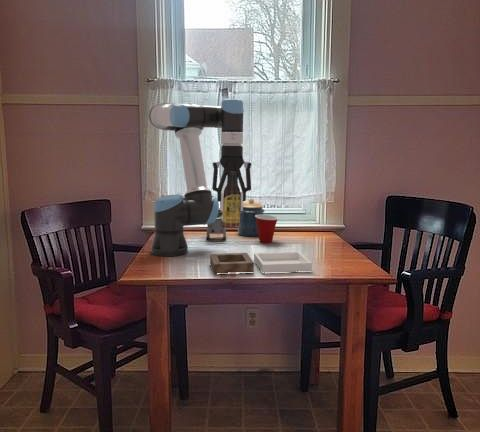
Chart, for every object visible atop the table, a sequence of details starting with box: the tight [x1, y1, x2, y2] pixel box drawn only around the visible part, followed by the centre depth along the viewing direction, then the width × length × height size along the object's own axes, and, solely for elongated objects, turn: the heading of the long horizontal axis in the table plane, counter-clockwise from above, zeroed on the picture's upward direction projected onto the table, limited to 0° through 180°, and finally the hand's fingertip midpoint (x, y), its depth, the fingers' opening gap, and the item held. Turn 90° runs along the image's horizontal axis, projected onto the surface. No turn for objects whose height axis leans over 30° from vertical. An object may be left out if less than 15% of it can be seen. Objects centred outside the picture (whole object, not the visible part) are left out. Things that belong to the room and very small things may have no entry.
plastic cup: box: [255, 214, 279, 244], centre depth 208 cm, size 11×11×12 cm
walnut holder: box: [209, 252, 255, 275], centre depth 167 cm, size 14×14×4 cm
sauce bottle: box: [221, 171, 241, 229], centre depth 162 cm, size 7×6×20 cm
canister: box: [237, 198, 265, 237], centre depth 224 cm, size 13×13×18 cm
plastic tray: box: [253, 251, 313, 273], centre depth 170 cm, size 18×16×4 cm
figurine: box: [205, 207, 227, 241], centre depth 213 cm, size 9×12×15 cm
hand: (231, 210), depth 163 cm, fingers closed on sauce bottle, 6 cm apart
